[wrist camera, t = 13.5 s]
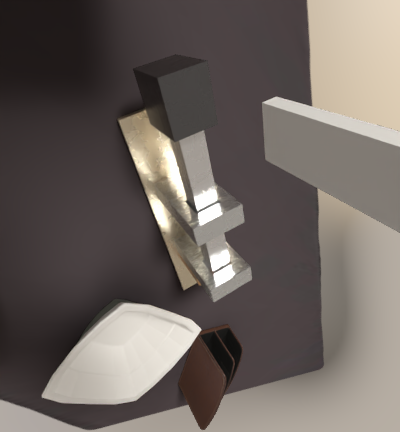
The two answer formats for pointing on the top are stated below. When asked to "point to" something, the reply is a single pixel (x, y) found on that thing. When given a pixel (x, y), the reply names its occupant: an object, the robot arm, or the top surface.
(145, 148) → the frame
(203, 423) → the letter holder
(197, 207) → the shaft
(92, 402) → the bowl
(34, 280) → the top surface
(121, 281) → the top surface
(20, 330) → the top surface
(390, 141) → the robot arm
